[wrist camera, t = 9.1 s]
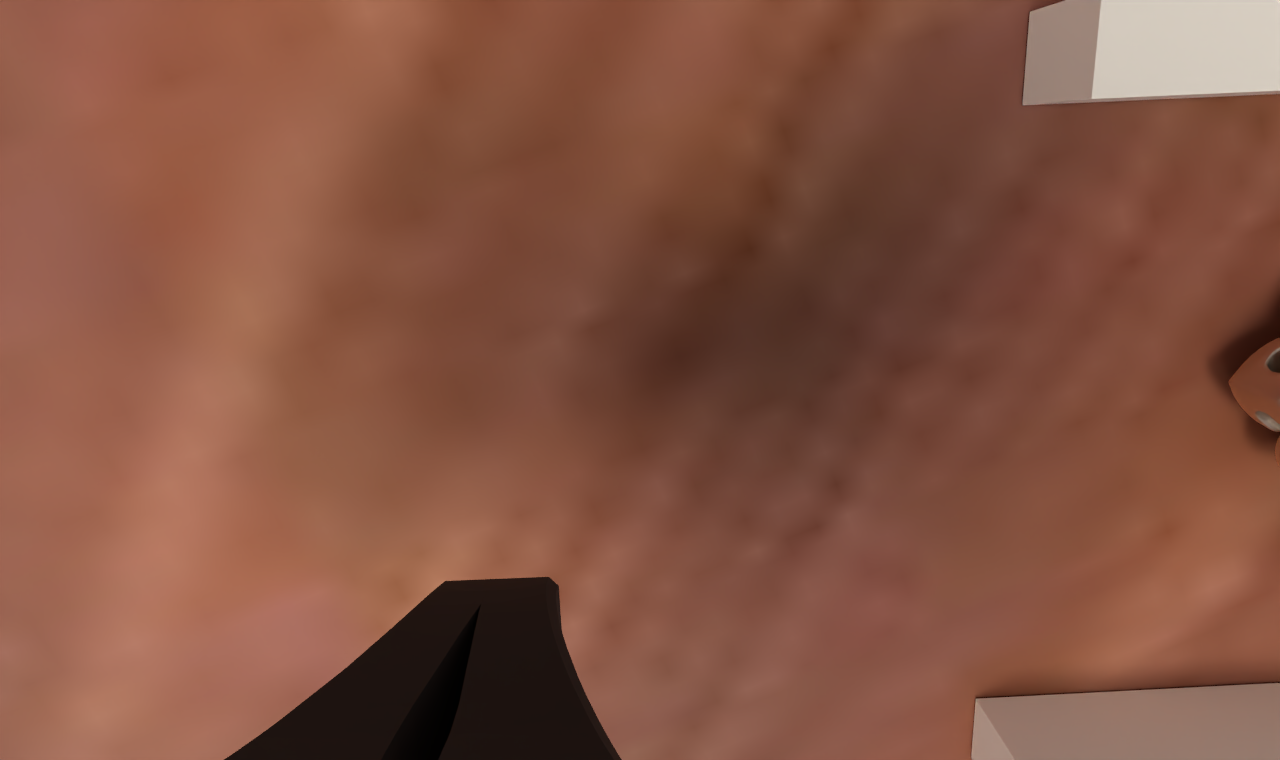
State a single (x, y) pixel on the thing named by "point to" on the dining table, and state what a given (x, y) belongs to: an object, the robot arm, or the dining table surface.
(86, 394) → the dining table surface
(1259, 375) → the ornament
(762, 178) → the dining table surface
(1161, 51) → the u-shaped frame
